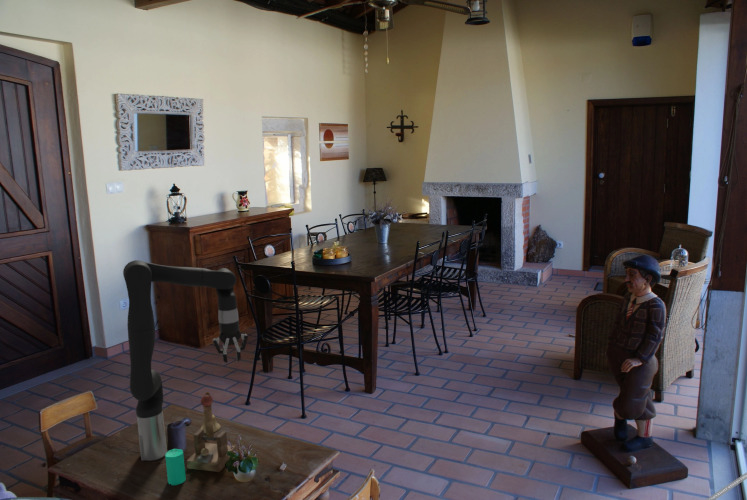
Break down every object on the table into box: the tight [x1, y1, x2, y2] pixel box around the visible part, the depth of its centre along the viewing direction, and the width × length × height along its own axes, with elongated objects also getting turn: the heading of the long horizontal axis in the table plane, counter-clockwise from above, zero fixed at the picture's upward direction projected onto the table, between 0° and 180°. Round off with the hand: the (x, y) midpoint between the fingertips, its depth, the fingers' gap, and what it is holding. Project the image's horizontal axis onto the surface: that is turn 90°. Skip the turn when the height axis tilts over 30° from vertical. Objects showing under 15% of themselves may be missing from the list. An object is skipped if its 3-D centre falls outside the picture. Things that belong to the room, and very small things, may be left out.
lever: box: [200, 394, 217, 442], centre depth 213 cm, size 6×4×18 cm
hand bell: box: [200, 391, 222, 434], centre depth 239 cm, size 8×8×16 cm
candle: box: [164, 448, 187, 486], centre depth 203 cm, size 6×6×12 cm
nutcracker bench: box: [186, 429, 237, 473], centre depth 215 cm, size 13×13×11 cm
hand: (232, 361), depth 229 cm, fingers open, 4 cm apart
